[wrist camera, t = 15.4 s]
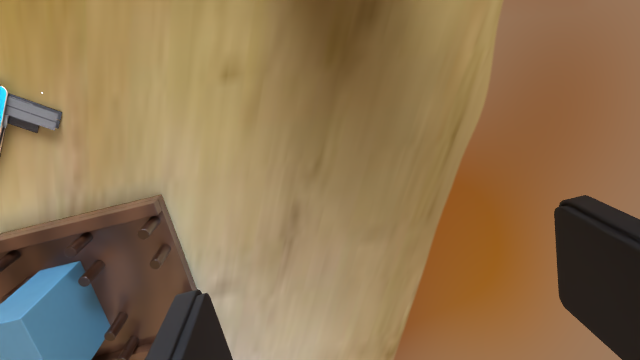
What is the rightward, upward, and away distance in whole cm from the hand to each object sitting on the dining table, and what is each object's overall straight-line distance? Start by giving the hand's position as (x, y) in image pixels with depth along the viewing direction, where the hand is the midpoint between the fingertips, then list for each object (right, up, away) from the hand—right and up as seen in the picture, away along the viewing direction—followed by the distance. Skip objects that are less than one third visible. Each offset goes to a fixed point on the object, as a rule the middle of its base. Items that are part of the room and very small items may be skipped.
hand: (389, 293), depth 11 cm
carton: (-26, -9, +29) cm, 40 cm away
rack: (-26, -8, +30) cm, 41 cm away
